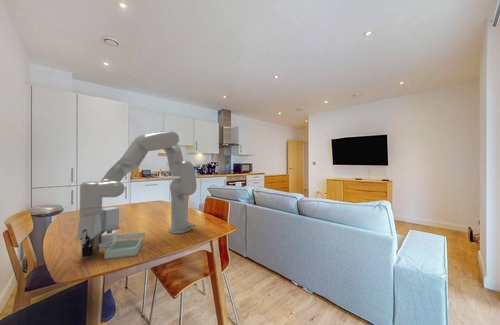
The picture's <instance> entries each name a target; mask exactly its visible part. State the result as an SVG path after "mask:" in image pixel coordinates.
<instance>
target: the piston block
mask: <svg viewBox="0 0 500 325" xmlns="http://www.w3.org/2000/svg"><path fill="white" fill-rule="evenodd" d="M117 235H118V230H117V229H115V230H112V229H107V231H106V232H105V233H103V234H102V235H101V243H105V242H114V241H118V239H117Z"/></svg>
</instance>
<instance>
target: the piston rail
mask: <svg viewBox="0 0 500 325" xmlns="http://www.w3.org/2000/svg"><path fill="white" fill-rule="evenodd" d="M106 231H107V230H102V231H101V232H100V233H99V249H102V248H109V246H110V245H111V244H112V243H113V242H105V243H101V235H102V234H103V233H105V232H106ZM145 236H146V232H134V233H125V234H124V233H123V234H117V240H121V239H123V240H125V239H134V238H143V237H145Z"/></svg>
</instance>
